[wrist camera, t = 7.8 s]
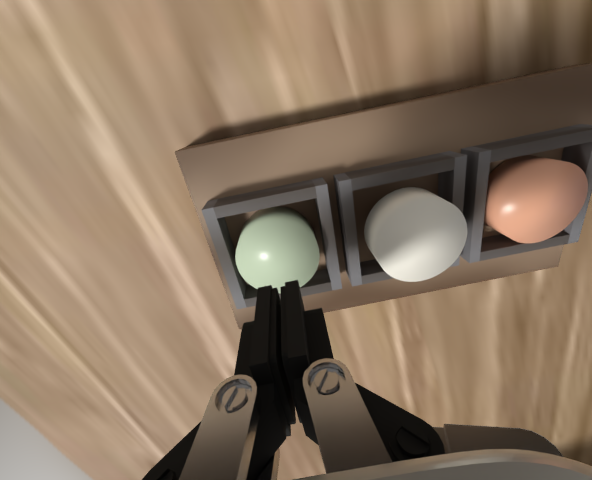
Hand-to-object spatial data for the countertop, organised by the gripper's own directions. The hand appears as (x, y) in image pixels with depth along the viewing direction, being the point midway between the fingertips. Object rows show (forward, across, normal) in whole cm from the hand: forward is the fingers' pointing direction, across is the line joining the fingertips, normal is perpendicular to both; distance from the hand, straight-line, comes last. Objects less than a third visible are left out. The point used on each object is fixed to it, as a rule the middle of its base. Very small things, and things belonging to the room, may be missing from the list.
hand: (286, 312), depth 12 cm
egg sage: (+6, 0, -1) cm, 6 cm away
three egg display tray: (+8, -7, -1) cm, 10 cm away
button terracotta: (+6, -14, -1) cm, 15 cm away
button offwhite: (+4, -7, -1) cm, 8 cm away
